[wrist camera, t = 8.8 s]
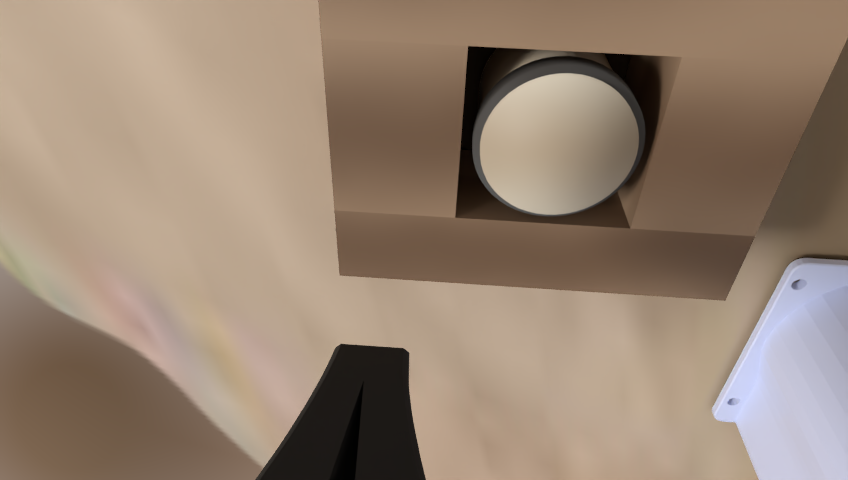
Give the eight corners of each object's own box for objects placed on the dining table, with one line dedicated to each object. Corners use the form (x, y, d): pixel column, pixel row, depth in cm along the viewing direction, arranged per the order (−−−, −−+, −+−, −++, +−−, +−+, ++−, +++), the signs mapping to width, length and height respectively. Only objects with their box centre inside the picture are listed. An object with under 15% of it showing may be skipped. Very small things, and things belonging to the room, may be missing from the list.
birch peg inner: (600, 157, 20) (624, 225, 17) (467, 149, 20) (465, 215, 17) (633, 21, 17) (668, 73, 14) (478, 13, 17) (479, 63, 14)
